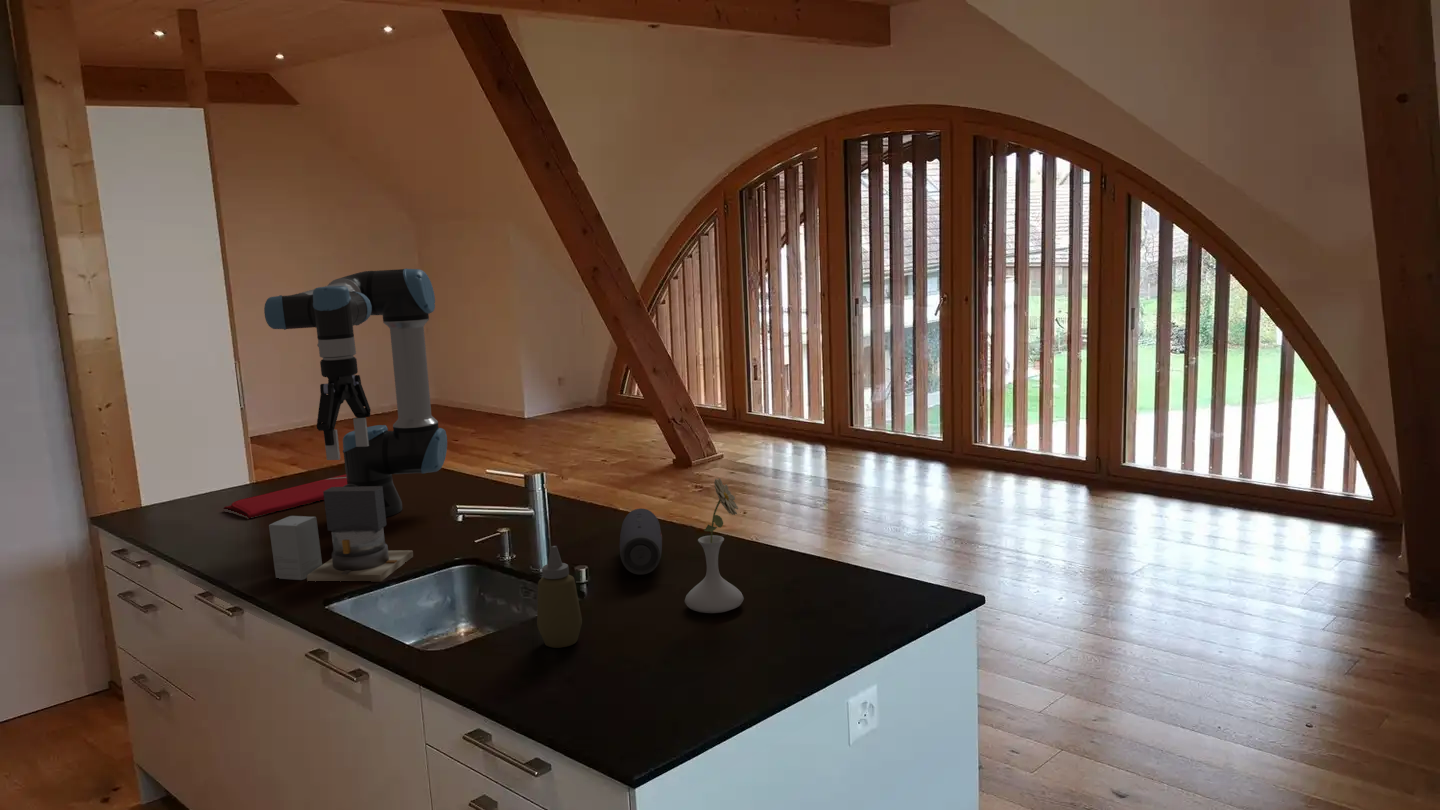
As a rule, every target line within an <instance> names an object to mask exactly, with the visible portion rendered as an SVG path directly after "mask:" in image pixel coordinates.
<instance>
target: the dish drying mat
mask: <svg viewBox="0 0 1440 810" xmlns="http://www.w3.org/2000/svg"><path fill="white" fill-rule="evenodd" d="M345 485H347V478H346V473H345V474H340V475H336V476H332V477H329V478H324V479H321V480H316V481H312V482H308V483H304V484H300V485H296V486H295V485H294V486H292V487H287V488H284V489H283V488H282V489H279V490H275V491H271V492H267V493H263V494H258V495H255V496H254V495H253V496H250V497H249V496H248V497H245V498H241V499H237V500H236V501H233V502H232V503H231V504H230V505H228V506H224V507H223V509H228V510H231V511H234V512H237V513H239V514H242V515H244V516H247V517H248V518H251V517H255V516H259V515H263V514H267V513H271V512H275V511H279V510H283V509H287V508H291V507H296V506H299V505H303V504H307V503H311V502H315V501H319V502H321V501H320V500H323V501H324V494H323V491H325V490H327V489H329V488H331V487H343V486H345ZM296 508H297V507H296Z"/></svg>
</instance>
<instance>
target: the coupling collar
mask: <svg viewBox="0 0 1440 810" xmlns="http://www.w3.org/2000/svg"><path fill="white" fill-rule="evenodd" d="M323 494H324V500H323V501H324V509H325V519H326V525H327V526H326V527H327V531H328V532H329V531H330V532H331V540H332V549H333V551H334V554H335V555H337V556H341V557H357V556H364V555H369V554H372V553H376V552H378V551H380V550H382V549H384V548H385V544H386V541H385V540H386V539H385V533H384V528H385V527H386V526H387V517H386V514H385V505H384V496H383V486H362V487H331V488H329V489H327V490H325V491H323Z"/></svg>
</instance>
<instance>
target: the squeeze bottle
mask: <svg viewBox="0 0 1440 810" xmlns="http://www.w3.org/2000/svg"><path fill="white" fill-rule="evenodd" d="M541 570H542V577H541V578H540V579H539V580H538V581H537V611H536V612H537V613H536V614H537V616H536V617H537V618H536V626H537V629H538V631H539V633H540V636H541V637H542V641H543V642H544V645H545V646H546V647H549V648H554V649H560V648H567V647H570V646H573V645H574V644H576V643H577V642H578V639H579V635H580V632H581V629H582V624H583V618H582V612H581V607H580V602H579V595H578V591H577V590H578V589H577V585H576V581H575V580H576V579H575V577H574V576H573V575H572V574H570V568H569V564H567V563H565V562H562V559H561V555H560V552H559V549H558V546H557V545H551V546H550V548H549V555H548V562H547V564H544V565H543V567H541Z"/></svg>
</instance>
